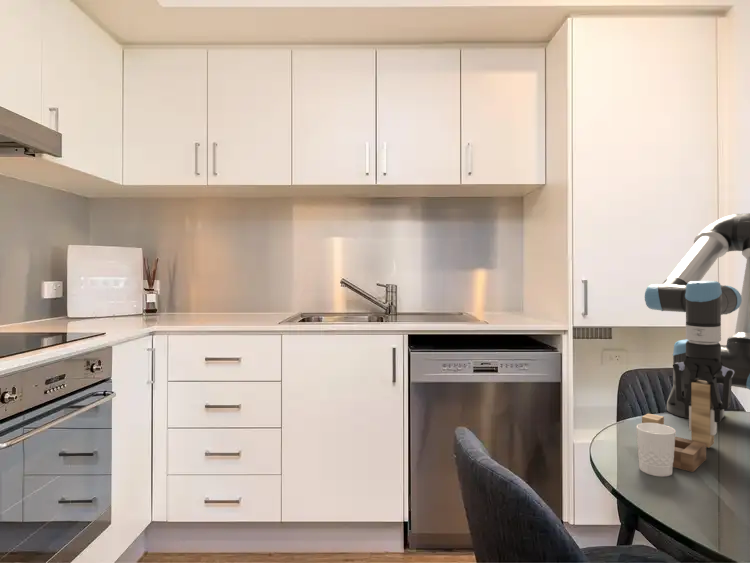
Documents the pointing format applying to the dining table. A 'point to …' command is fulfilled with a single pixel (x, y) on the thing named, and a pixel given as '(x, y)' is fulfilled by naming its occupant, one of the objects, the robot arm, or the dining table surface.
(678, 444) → the walnut hole block
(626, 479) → the dining table surface
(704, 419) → the long oak peg
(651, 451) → the white cup
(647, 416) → the short oak peg
